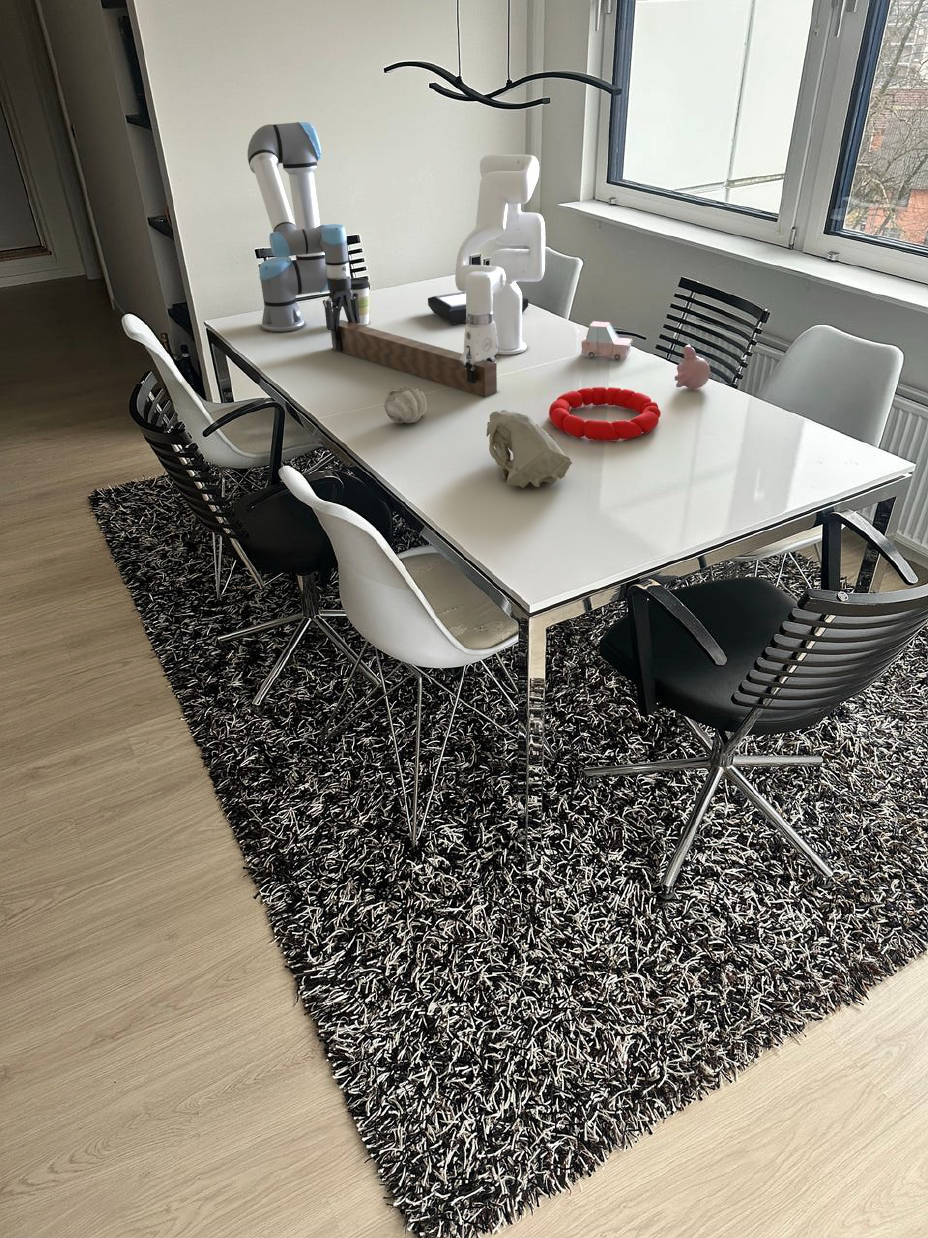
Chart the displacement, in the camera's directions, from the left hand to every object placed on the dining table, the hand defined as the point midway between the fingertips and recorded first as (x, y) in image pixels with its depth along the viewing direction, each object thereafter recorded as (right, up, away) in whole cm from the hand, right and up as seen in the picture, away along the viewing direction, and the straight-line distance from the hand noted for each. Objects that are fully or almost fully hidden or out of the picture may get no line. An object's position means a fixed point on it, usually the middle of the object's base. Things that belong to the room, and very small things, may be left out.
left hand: (346, 347), depth 302 cm
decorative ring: (+78, -38, -58) cm, 105 cm away
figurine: (+107, -24, -40) cm, 117 cm away
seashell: (+24, -38, -55) cm, 71 cm away
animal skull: (+54, -55, -82) cm, 113 cm away
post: (+23, -12, -18) cm, 31 cm away
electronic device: (+45, +22, +31) cm, 59 cm away
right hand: (+45, -21, -38) cm, 63 cm away
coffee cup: (+2, +17, +25) cm, 30 cm away
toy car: (+86, -7, -13) cm, 88 cm away
